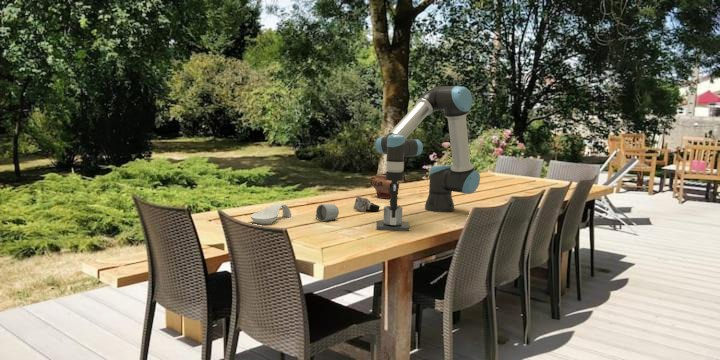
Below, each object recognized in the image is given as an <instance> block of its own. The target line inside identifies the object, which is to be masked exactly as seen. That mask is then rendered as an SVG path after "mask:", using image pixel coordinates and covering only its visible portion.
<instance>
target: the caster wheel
mask: <svg viewBox="0 0 720 360" xmlns="http://www.w3.org/2000/svg"><path fill="white" fill-rule="evenodd" d="M380 207H381V206H379V205H378V204H376V203H374V202H371V201H370V200H369V199H368V198H366V197H361V196H359V195H357V196H356V198H355V201H354V205H353V210H356V211H358V212H361V213H366V211H367V210H368V211H372V212H373V211H374V212H379V211H380Z"/></svg>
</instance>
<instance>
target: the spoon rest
mask: <svg viewBox="0 0 720 360" xmlns="http://www.w3.org/2000/svg"><path fill="white" fill-rule="evenodd" d="M281 208H282V217H285V218H291V217H292V212H291V209H290V208H289V206H288V205H287V204H284V203H283V204H281V203H274V204H272V205H270V206H268V207H266V208H264V209H261V210H259V211H256V212H253V213H252V214H250V219H251V220H252V221H253V222H254V223H256V224H260V225H271V224H273V222H275V220H277V218H278V217H279V214H280V210H281Z"/></svg>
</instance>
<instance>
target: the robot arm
mask: <svg viewBox="0 0 720 360" xmlns="http://www.w3.org/2000/svg"><path fill="white" fill-rule="evenodd" d="M472 105H473V96H472V93H471V91H470V90H469V89H468V88H467V87H466V86H459V85H455V86H454V85H451V86H449V85H448V86H447V85H446V86H443V85H440V86H435V87H432V88H431V89H429V90H428V91H426V92H424V93H423V94H422V95H421V96H419V98H417V100H416V101H415V105H414V106H413V107H412V108H411V109H410V110H409V111H408V112H407V113H406V114H405V115H404V116H403V117H402V119H401V120H400V121H399V122H398V123H397V124H396V125H395V126H394V127H393V128H392V129H391V130H390V132H389V133H388V134H387V135H385V136H379V137H378V138H377V139H376V141H375V142H374V145H375V150H376V151H377V152H378V153H380V154H383V155H386V162H385V163H384V165H385V166H386V168H385V169H386V172H385V173H386V180H389V181H392V182H391V184H390V198H389V200H390V201H389V206H391V208H389V210H390V225H396V218H397V206H398V195H399V189H400V183H399V184H397V181H398V182H401V181H403V180H404V169H405V157H417V156H420V155H421V154H422V153H423V150H424V149H423V148H424V145H423V143H422V141H421V140H419V139H415V138H411V139H408V138H409V137H408V136H410V135H411V134H412V133H413V131H414V130H415V129H416V128H417V127H418V126H419V125H420V124H421V123H422V121H424V120H425V118H426V117H427V116H430V115H432V114H433V113H434V112H437V111H443V117H445V118H446V119H447V122H448V123H447V125H448V132H449V140H450V150H451V158H452V159H451V160H452V164H451V165H449V164H448V165H445V164H444V165H435V166H431V167H430V171H429V188H428V189H429V190H428V191H429V192H428V196H427V199H426V201H425V204H424V209H425V210H426V211H430V212H431V211H432V212H437V213H439V212H440V213H447V212H448V213H449V212H453V211H455V204H454V200H453V196H452V194H453V193H452V192H455V193H460V194H468V195H469V194H473V193H474V192H476V190H477V189H478V187H479V185H480V183H481V182H480V181H481V175H480V173H479V171H478V170H475V166H474V164H473V163H471V154H470V147H469V136H468V127H467V126H468V125H467V118H466V116H468V114H469V110H471V108H472ZM392 206H395V207H392Z"/></svg>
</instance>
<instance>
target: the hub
mask: <svg viewBox="0 0 720 360" xmlns="http://www.w3.org/2000/svg"><path fill="white" fill-rule="evenodd" d="M392 207H395V206H392ZM389 208H391V206H390V205H385V206H384V207H383V220H382V221H383V223H384V224H387V225H390V210H389ZM402 222H403V207H402V206H398V205H397V218H396V225H401V224H402Z"/></svg>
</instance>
